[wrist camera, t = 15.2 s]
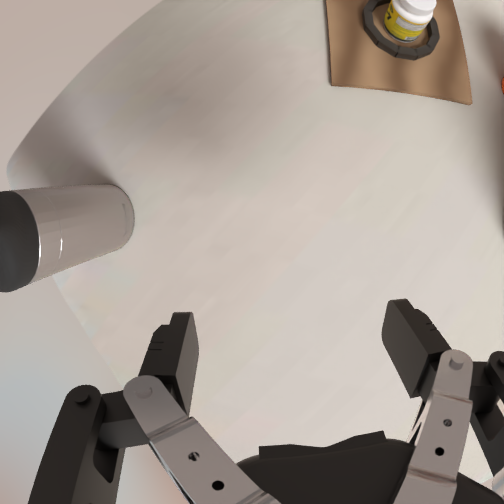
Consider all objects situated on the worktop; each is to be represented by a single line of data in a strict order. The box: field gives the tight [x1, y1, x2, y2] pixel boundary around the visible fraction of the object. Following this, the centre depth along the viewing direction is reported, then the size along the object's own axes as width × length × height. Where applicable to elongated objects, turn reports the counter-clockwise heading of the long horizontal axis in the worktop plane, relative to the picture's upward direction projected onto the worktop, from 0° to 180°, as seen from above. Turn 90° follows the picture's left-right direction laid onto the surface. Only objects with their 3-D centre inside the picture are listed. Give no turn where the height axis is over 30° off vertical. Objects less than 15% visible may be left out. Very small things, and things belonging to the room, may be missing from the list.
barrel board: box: [326, 0, 472, 105], centre depth 28 cm, size 18×18×2 cm
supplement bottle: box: [383, 0, 436, 43], centre depth 24 cm, size 5×5×8 cm
